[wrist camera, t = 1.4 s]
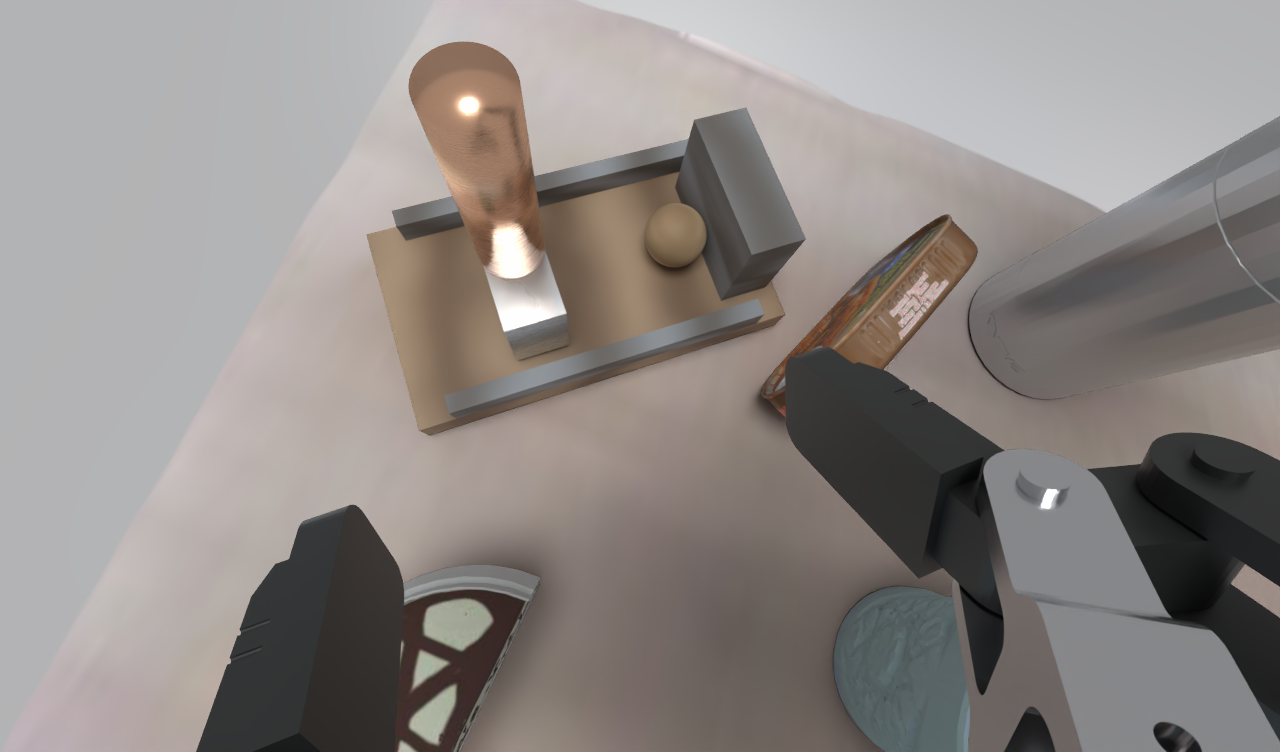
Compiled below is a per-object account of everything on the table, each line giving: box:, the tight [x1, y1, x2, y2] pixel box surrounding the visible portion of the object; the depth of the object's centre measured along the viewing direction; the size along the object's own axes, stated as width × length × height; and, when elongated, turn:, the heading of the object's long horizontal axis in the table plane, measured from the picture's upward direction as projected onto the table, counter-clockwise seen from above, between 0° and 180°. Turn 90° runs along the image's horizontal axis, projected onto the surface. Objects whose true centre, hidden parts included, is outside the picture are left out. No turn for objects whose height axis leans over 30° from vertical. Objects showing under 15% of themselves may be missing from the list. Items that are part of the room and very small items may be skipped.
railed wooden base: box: [367, 108, 805, 435], centre depth 29 cm, size 22×12×8 cm, turn 109°
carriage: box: [409, 42, 569, 361], centre depth 23 cm, size 3×8×15 cm, turn 19°
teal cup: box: [834, 586, 970, 752], centre depth 24 cm, size 10×10×12 cm
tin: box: [761, 214, 978, 418], centre depth 30 cm, size 15×3×8 cm, turn 135°
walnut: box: [644, 203, 707, 267], centre depth 30 cm, size 4×4×4 cm
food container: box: [394, 565, 540, 752], centre depth 22 cm, size 12×6×10 cm, turn 155°
